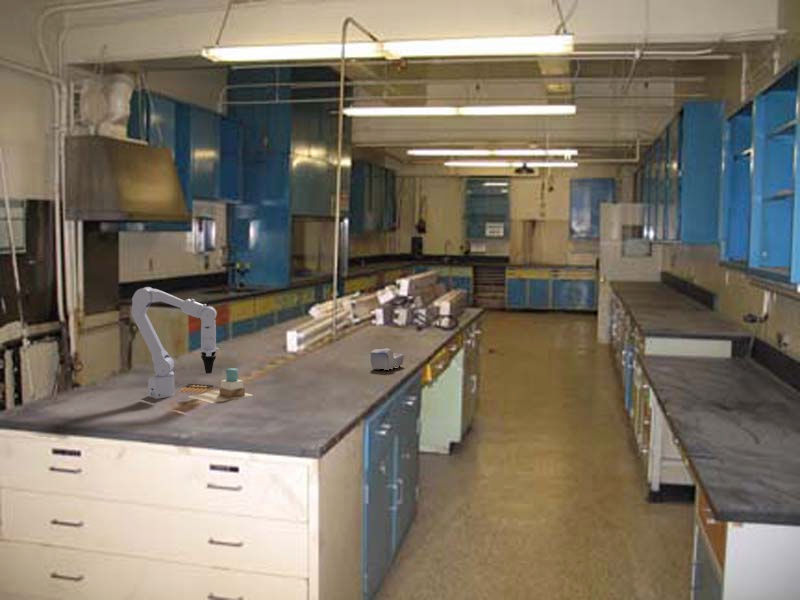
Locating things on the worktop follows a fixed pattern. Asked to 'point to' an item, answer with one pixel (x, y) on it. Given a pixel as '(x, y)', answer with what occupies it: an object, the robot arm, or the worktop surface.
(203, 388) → the ammunition clip
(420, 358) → the worktop surface
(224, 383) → the tower top
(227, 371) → the teal piece
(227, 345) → the worktop surface
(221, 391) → the tower base
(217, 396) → the birch board
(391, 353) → the grey stepped block
